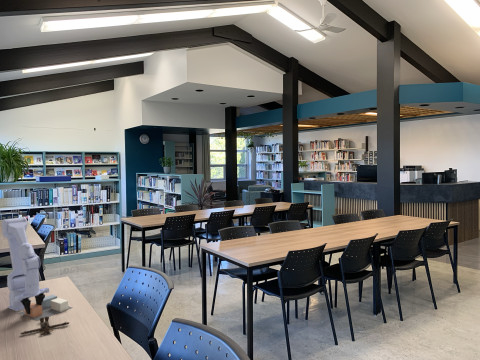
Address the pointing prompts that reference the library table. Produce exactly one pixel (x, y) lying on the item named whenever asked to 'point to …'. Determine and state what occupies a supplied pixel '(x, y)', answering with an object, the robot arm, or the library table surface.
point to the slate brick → (48, 301)
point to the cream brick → (59, 304)
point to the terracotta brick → (34, 310)
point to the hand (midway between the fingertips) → (33, 312)
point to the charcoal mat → (44, 313)
